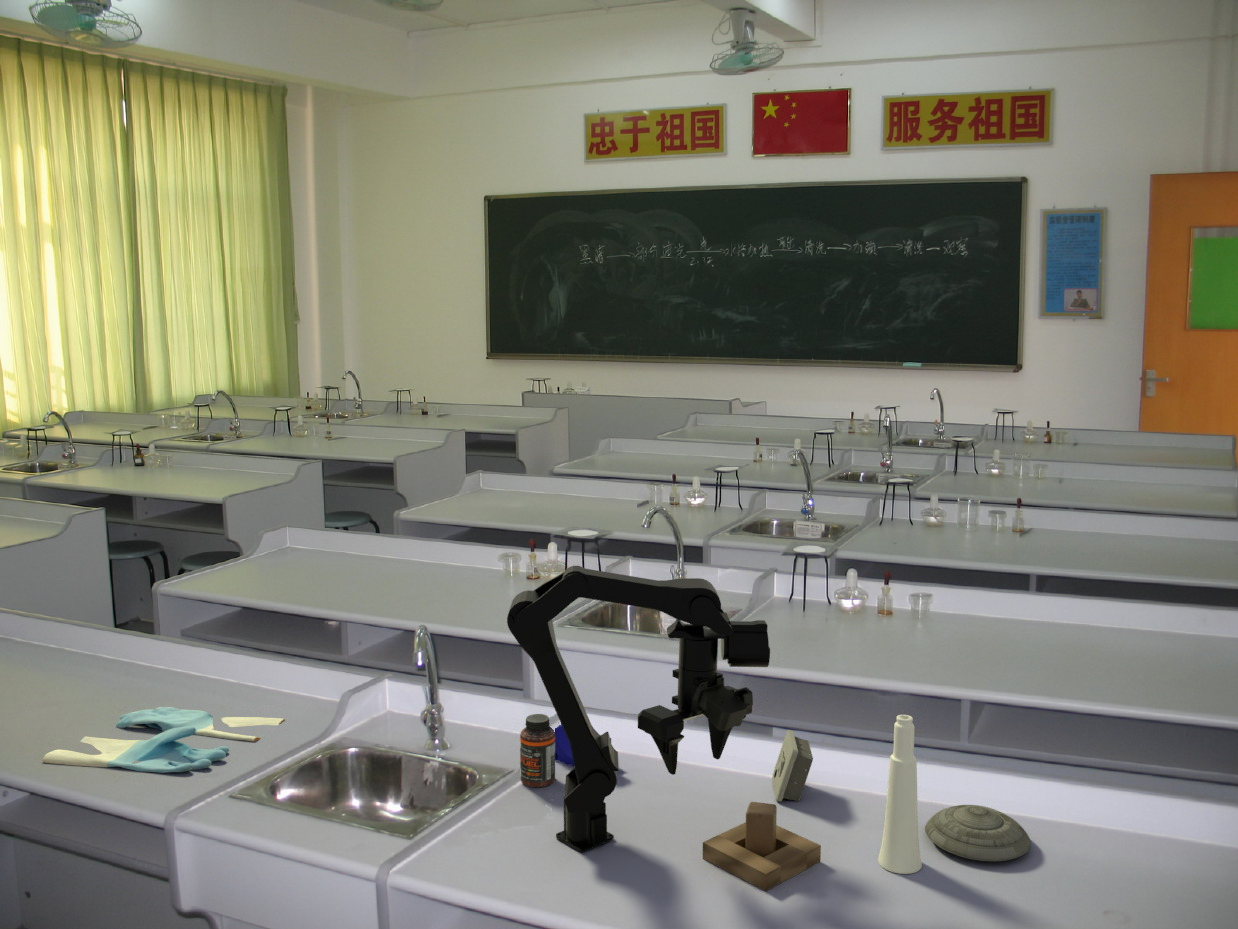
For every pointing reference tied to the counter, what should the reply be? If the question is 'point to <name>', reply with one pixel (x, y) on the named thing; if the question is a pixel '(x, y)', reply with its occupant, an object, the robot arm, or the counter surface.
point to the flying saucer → (978, 833)
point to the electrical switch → (792, 768)
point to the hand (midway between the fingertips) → (694, 766)
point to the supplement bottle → (537, 752)
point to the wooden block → (761, 828)
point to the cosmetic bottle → (901, 804)
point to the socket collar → (754, 868)
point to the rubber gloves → (160, 742)
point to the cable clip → (563, 747)
